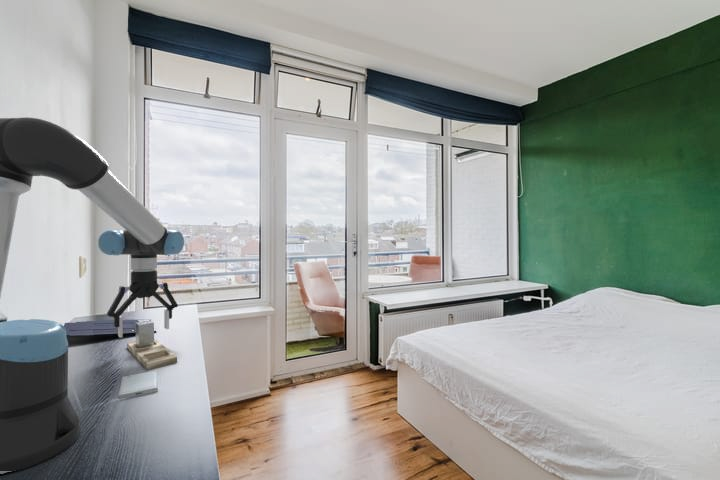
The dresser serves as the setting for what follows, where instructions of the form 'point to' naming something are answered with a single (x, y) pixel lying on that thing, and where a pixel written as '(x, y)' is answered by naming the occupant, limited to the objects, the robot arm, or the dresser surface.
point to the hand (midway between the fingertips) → (144, 332)
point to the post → (144, 334)
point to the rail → (152, 354)
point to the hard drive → (138, 384)
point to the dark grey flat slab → (99, 327)
